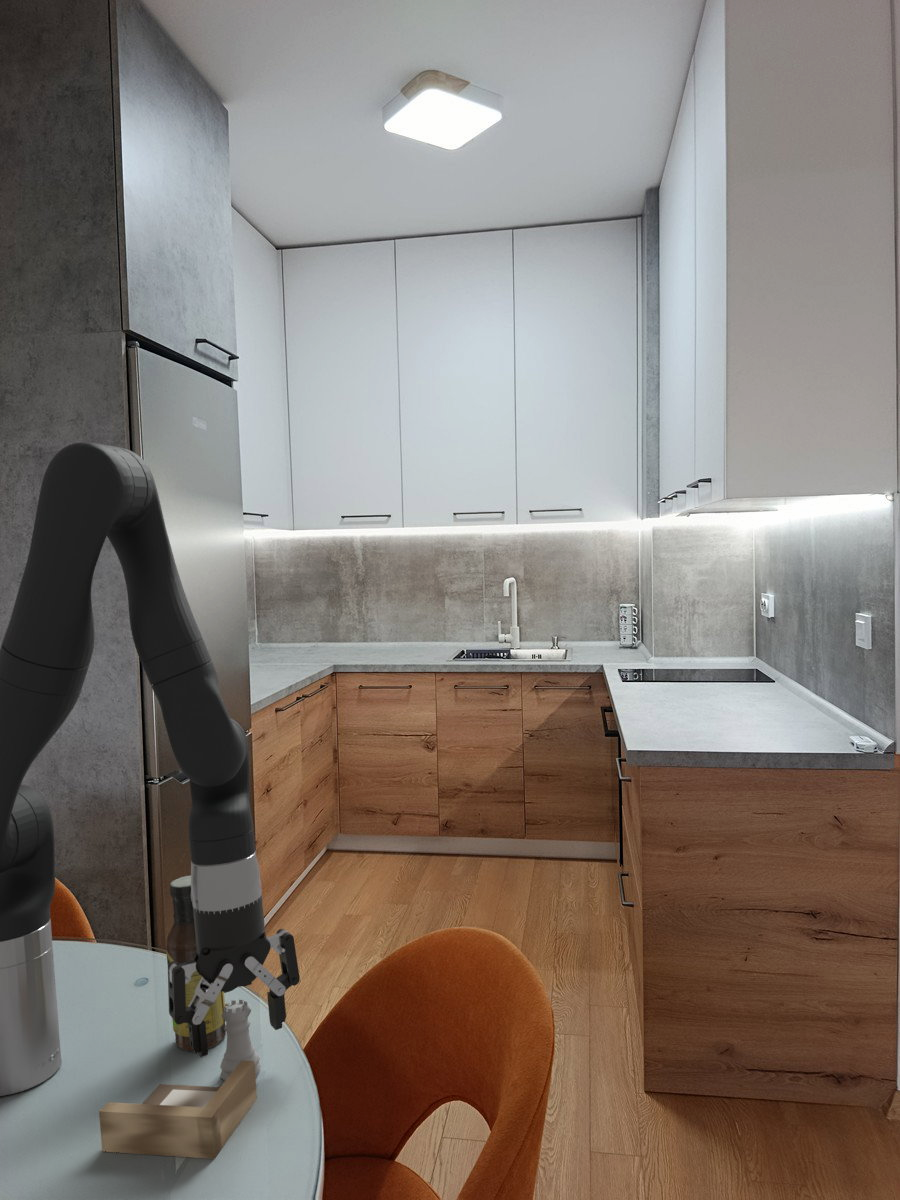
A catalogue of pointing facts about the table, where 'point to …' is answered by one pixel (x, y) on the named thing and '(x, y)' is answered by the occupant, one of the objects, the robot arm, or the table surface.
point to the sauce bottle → (184, 950)
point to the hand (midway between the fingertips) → (240, 1039)
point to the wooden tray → (180, 1118)
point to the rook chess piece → (237, 1038)
